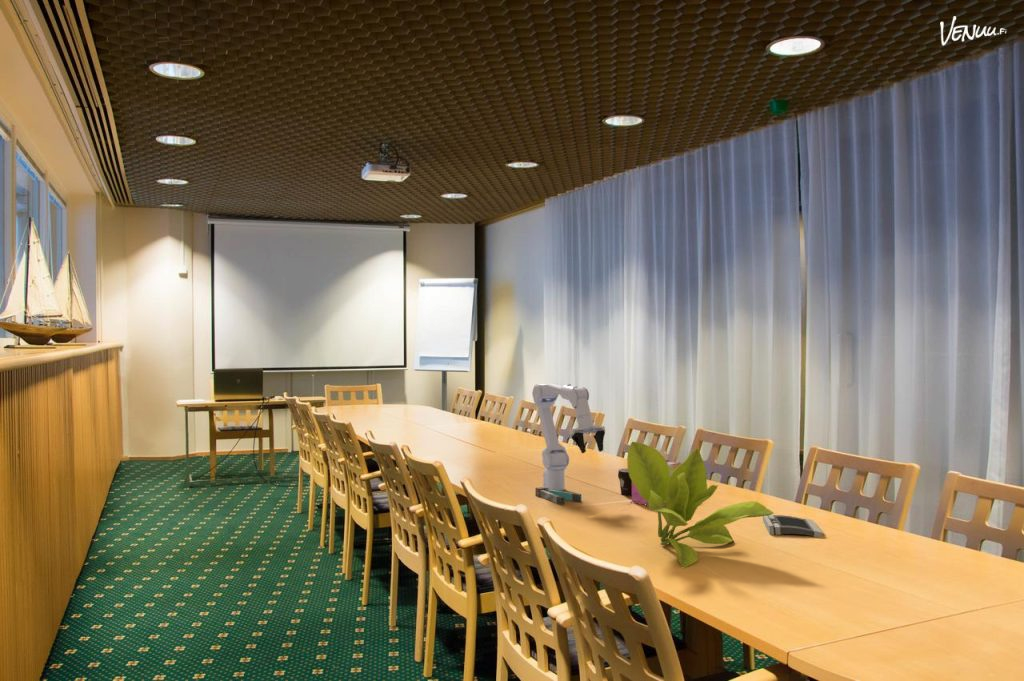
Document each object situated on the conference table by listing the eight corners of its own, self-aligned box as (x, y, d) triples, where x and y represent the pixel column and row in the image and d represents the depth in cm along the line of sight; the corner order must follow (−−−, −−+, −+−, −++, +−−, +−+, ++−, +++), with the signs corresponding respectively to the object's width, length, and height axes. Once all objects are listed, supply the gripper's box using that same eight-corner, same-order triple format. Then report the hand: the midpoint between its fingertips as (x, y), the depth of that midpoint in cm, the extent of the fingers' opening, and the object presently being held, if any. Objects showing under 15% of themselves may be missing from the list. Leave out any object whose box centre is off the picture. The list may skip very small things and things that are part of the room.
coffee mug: (642, 497, 293) (642, 472, 293) (619, 497, 293) (619, 472, 293) (637, 491, 305) (637, 467, 305) (616, 491, 305) (616, 467, 305)
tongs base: (535, 495, 295) (535, 486, 295) (545, 494, 297) (545, 485, 297) (559, 505, 278) (559, 495, 278) (569, 504, 280) (569, 494, 280)
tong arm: (548, 497, 292) (548, 490, 292) (551, 496, 293) (551, 489, 293) (578, 502, 283) (578, 494, 283) (581, 501, 284) (581, 494, 284)
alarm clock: (762, 513, 255) (813, 511, 252) (763, 527, 255) (814, 525, 252) (769, 525, 238) (823, 524, 235) (770, 540, 238) (825, 538, 235)
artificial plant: (629, 591, 205) (680, 512, 191) (581, 479, 240) (622, 406, 226) (751, 599, 221) (806, 527, 207) (689, 494, 256) (733, 426, 242)
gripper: (572, 415, 282) (580, 449, 277) (605, 412, 289) (614, 446, 284) (564, 421, 288) (572, 455, 283) (596, 419, 294) (605, 452, 289)
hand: (592, 451), depth 284 cm, fingers open, 7 cm apart
